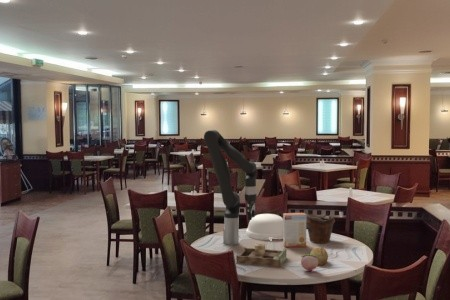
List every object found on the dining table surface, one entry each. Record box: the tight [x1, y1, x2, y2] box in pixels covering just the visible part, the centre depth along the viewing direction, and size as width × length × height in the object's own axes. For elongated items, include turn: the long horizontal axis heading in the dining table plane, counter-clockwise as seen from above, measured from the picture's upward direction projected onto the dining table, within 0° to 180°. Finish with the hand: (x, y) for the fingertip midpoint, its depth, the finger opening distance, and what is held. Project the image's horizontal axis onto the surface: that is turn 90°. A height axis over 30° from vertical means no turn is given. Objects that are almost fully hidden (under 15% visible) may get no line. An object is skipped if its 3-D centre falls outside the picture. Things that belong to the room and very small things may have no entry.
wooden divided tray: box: [235, 247, 287, 268], centre depth 284 cm, size 25×18×6 cm
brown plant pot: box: [306, 213, 336, 244], centre depth 328 cm, size 18×20×18 cm
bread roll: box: [309, 247, 329, 266], centre depth 282 cm, size 10×15×8 cm, turn 4°
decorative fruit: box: [300, 252, 319, 272], centre depth 265 cm, size 9×8×10 cm
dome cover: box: [245, 213, 283, 241], centre depth 345 cm, size 32×30×14 cm
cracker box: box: [282, 212, 307, 248], centre depth 315 cm, size 14×6×21 cm, turn 95°
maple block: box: [254, 243, 266, 255], centre depth 288 cm, size 5×5×5 cm
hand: (251, 218), depth 317 cm, fingers open, 8 cm apart
